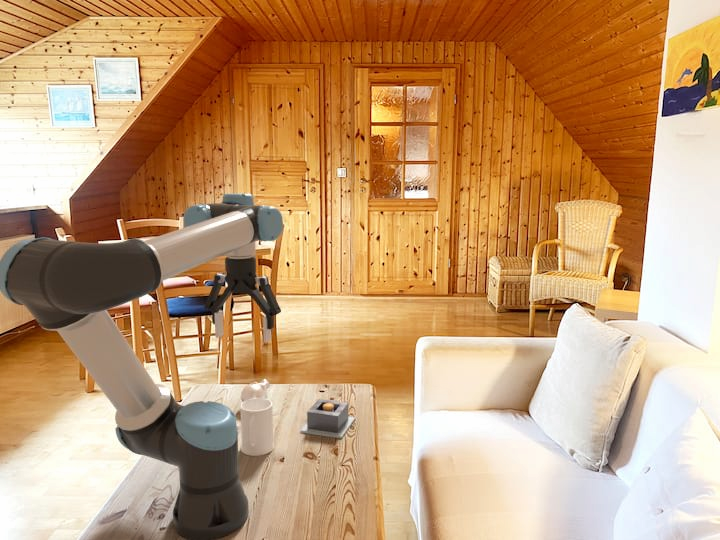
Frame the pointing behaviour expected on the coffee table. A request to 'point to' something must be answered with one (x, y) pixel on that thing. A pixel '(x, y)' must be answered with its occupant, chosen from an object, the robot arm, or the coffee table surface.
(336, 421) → the hollow square block
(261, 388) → the figurine
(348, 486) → the coffee table surface
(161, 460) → the robot arm
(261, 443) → the mug
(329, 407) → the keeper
